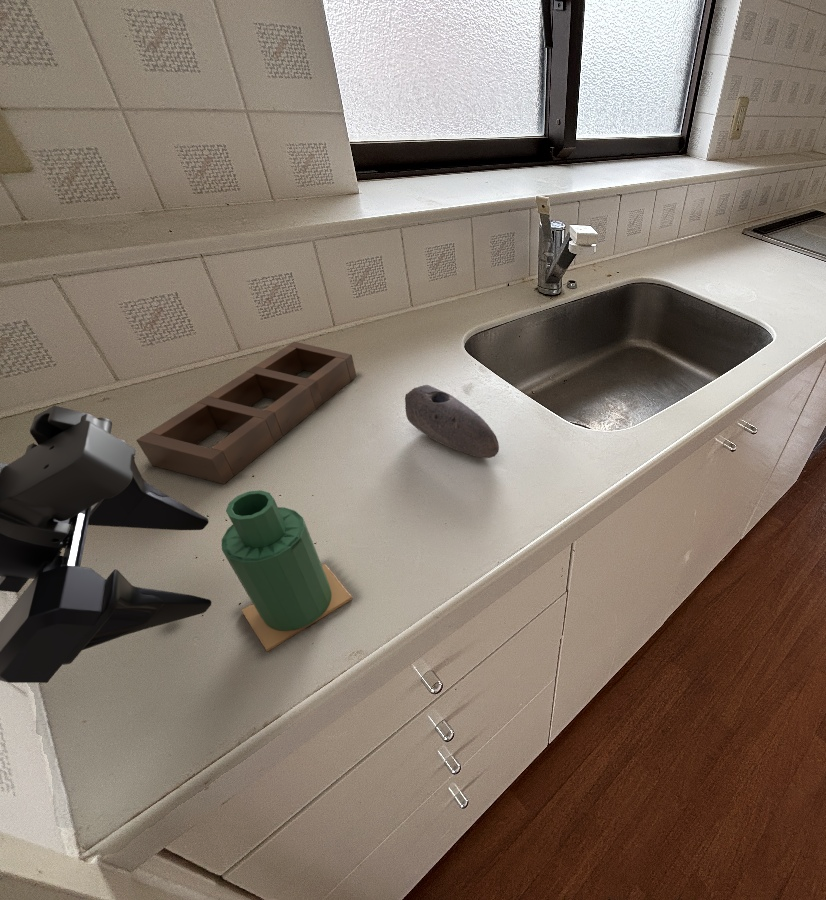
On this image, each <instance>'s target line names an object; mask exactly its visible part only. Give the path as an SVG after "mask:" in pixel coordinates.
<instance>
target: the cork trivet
mask: <svg viewBox="0 0 826 900" xmlns="http://www.w3.org/2000/svg"><path fill="white" fill-rule="evenodd" d="M321 565H322V567H323V570H324V572H325V575H326V577H327V580H328V582H329V586H330V589H331V594H332V595H331V601H330V604H329V606H328V608H327V609H326V611H325V612H324V613H323V614H322V615H321V616H320V617H319V618H318V619H317V620H315V621H314V622H312V623H311V624H309V625H307V626H305V627H302V628H300V629H296V630H291V631H279V630H275V629H273V628H270V627H269V626H268V625H267V624H266V623H265V622H264V620H263V619H262V618H261V616H260V615H259V613H258V611H257V610H256V608H255V606H254V604H253V603H252V604H250V605H248V606H246V607H244V608H243V609H241V613H242V614H243V616H244V617H245V620H246V621H247V623H248V624H249V625H250V627H251V628H252V630H253V631H254V634H255V635H256V636H257V638H258V639H259V641H260V643H261V644H262V646H263V647H264V649H265V651H266V652H269V651H271V650H273V649H275V648H276V647H278V646H279V645H281V644H282V643H284V642H287V640H289V639H291V638H292V637H293V636H295V635H297V634H298V633H300V632H302V631H303V630H305V629H307V628H308V627H310V626H311V625H313V624H315V623H316V622H317V621H319V620H321V619H322V618H324V617H326V616H327V615H329V614H331V613H333V612H334V611H335V610H337V609H339V608H340V607H342V606H344V605H345V604H347V603H348V602H350V601H352V600H353V597H352V595H351V594H350V592H349V591H348V590H347V588H346V587H345V586H344V585H343V583H342V582H341V581H340V580H339V579H338V578H337V576H336V575H335V574H334V573H333V572H332V570H331V569H330V568H329V566H328V565H327V564H326V563H324V564H321Z"/></svg>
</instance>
